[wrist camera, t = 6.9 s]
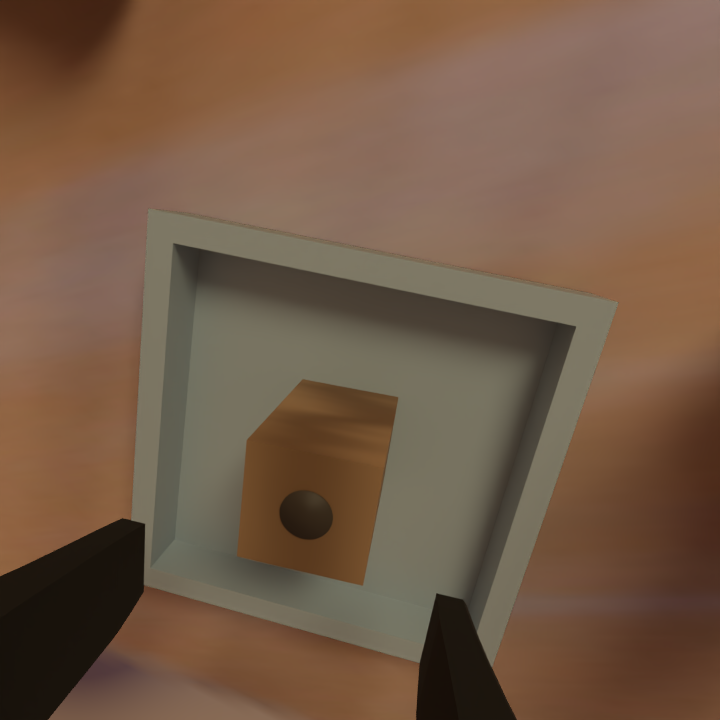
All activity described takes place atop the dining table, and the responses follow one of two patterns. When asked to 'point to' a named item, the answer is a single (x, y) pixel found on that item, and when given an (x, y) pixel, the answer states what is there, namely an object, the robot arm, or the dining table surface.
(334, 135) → the dining table surface
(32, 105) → the dining table surface
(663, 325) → the dining table surface
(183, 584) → the tray
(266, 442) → the walnut block
